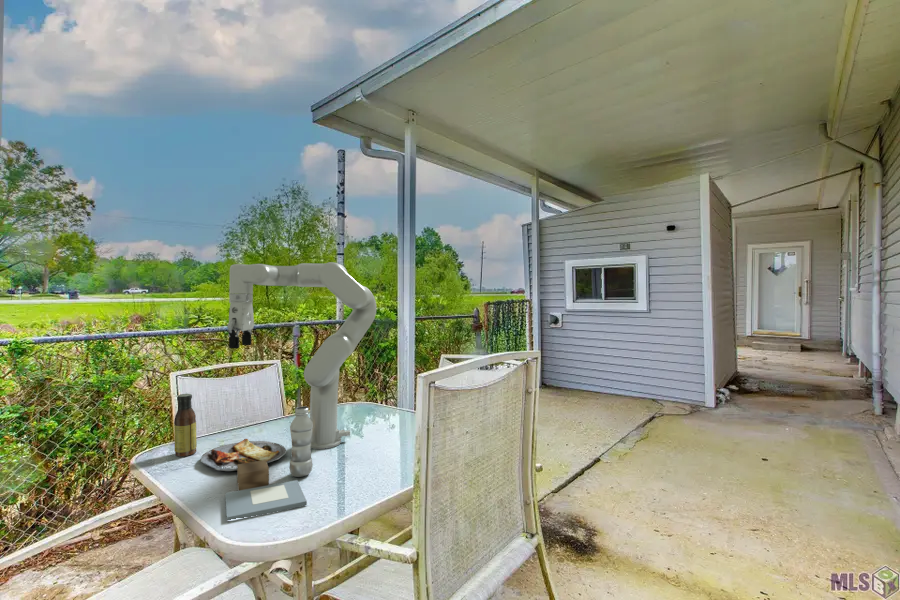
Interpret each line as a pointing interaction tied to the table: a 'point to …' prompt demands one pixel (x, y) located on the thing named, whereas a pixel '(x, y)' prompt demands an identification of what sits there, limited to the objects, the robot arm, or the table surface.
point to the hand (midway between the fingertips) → (240, 346)
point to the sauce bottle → (185, 427)
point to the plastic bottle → (301, 443)
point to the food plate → (242, 454)
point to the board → (264, 500)
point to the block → (252, 475)
